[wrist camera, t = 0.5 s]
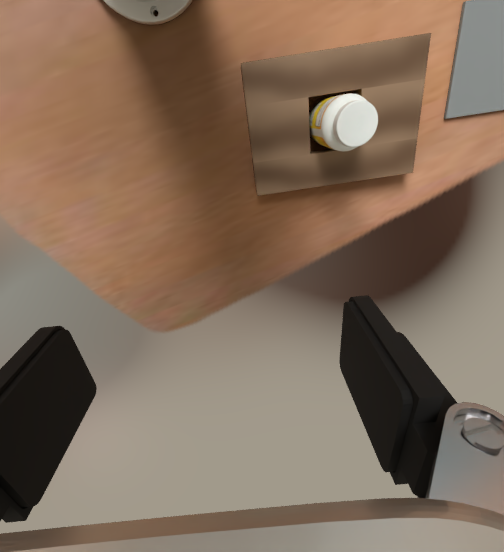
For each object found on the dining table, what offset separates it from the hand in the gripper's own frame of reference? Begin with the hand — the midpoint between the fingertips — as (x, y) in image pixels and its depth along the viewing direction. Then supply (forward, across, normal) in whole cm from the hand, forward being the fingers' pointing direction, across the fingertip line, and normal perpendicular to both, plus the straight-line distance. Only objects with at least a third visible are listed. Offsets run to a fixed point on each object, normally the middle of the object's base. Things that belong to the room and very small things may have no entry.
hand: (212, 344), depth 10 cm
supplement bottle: (+32, -13, -6) cm, 35 cm away
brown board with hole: (+32, -13, -6) cm, 35 cm away
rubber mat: (+32, -33, -11) cm, 47 cm away
